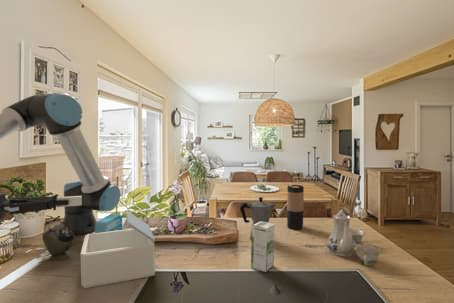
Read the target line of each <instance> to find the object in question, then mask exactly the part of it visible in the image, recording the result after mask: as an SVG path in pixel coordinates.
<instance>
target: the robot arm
mask: <svg viewBox="0 0 454 303" xmlns="http://www.w3.org/2000/svg"><path fill="white" fill-rule="evenodd" d="M82 114H83V108H82V106H81V104H80V102H79V101H78V100H77V98H75V97H74V96H72V95H70V94H68V93H60V92H59V93H58V92H56V93H55V92H53V93H45V94H35V95H31V96H28V97H24V99H21V100H18V101H17V102H15V103H13V104H11V105H8V106H6V107H4V108H3V109H2V110H1V112H0V140H2V139H5V138H6V137H8V136H10V135H12V134H14V133H16V132H20V133H21V132H24V131H26V130H28V129H30V128H33V127H39V126H40V127H41V126H43V127H45V128H46V130H47V131H48V133H49V135H50V136H53V137H56V138H57V140H58V142H59V144H60V146H61V147H62V149H63V151H64V153H65V156H66V157H67V158H68V160H69V162H70V164H71V166H72V168H73V170H74V172H75V174H76V175H77V177H78V179H79V180H75V181H74V180H73V181H69V182H66V183H65V184H64V185H63V196H61V197H60V196H58V194H54V195H53V196H52V195H51V196H21V197H20V196H14V197H12V198H10V199H7V196H6V194H5V193H4V192H0V221H1V220H2V219H4V217H5V216H6V213H9V215H15V214H21V213H28V212H29V213H30V212H38V211H47V210H52V209H53V211H57V208H62V207H63V208H64V217H63V219H62V222H63V223H64V226H66V227H68V228H69V229H70V230H71V231H72V232H73V234H74V236H77V235H78V236H79V235H83V234H84V235H86V234H90V233H92V232H95V224H96V222H97V221H98V220H97V219H96V217H95V214H94V211H99V212H111V211H113V210H114V209H116V208H117V206H118V204H119V202H120V199H121V195H122V194H121V189H120V187H118V185H115V184H112V183H111V181H110V179H109V177H108V176H106V175H104V174H102V171H101V169H100V167H99V165H98V163H97V161H96V159H95V157H94V155H93V152H92V151H91V149H90V147H89V145H88V142H87V141H86V138H85V136H84V135H83V132H82V130H81V129H80V128H81V125H82V124H83V123H82V121H81V120H82V118H83V115H82Z"/></svg>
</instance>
